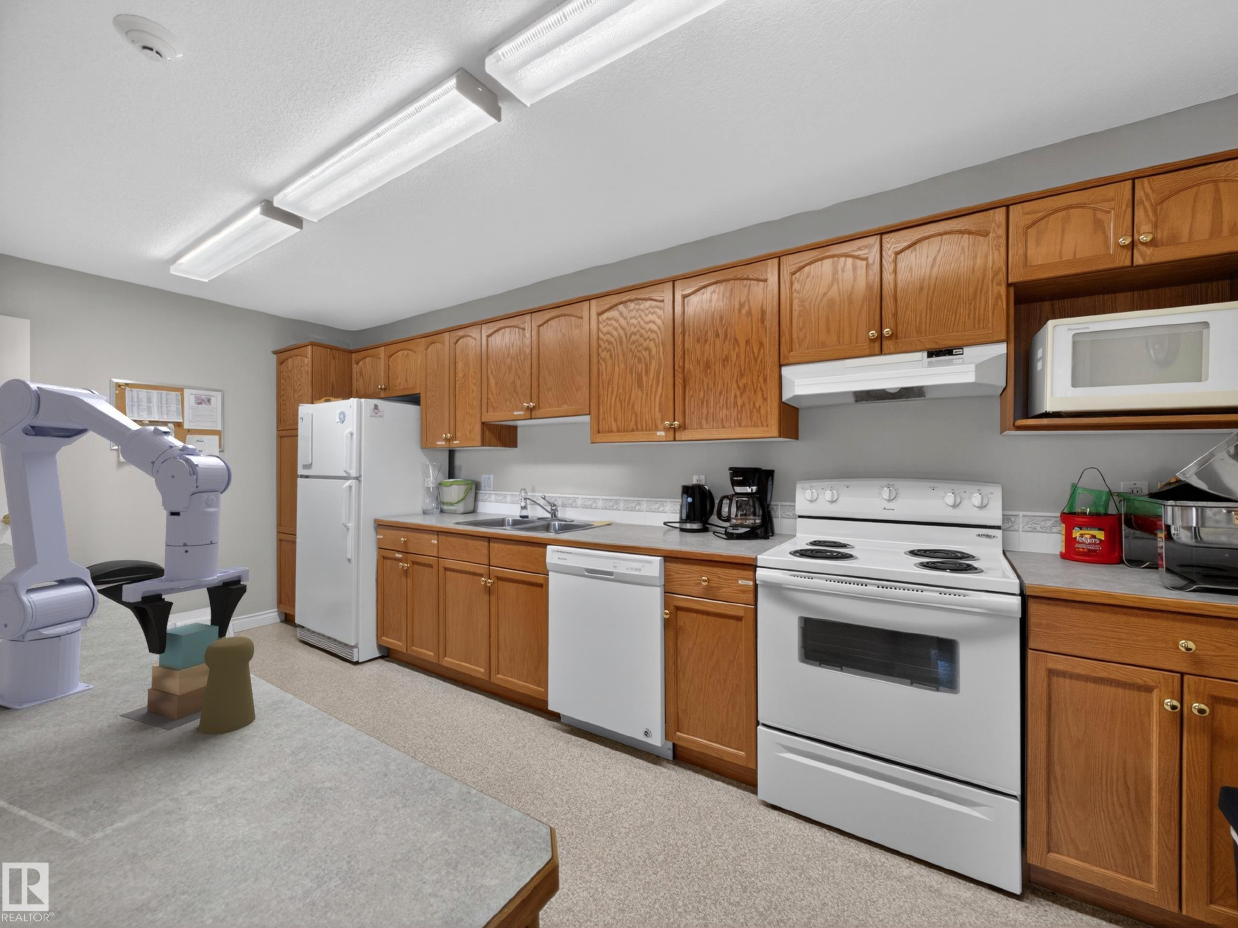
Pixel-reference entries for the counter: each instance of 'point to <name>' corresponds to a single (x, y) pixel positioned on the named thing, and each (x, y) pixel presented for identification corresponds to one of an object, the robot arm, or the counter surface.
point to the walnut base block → (175, 703)
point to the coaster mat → (159, 718)
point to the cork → (228, 686)
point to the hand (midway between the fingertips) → (189, 644)
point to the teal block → (187, 645)
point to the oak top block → (179, 678)
